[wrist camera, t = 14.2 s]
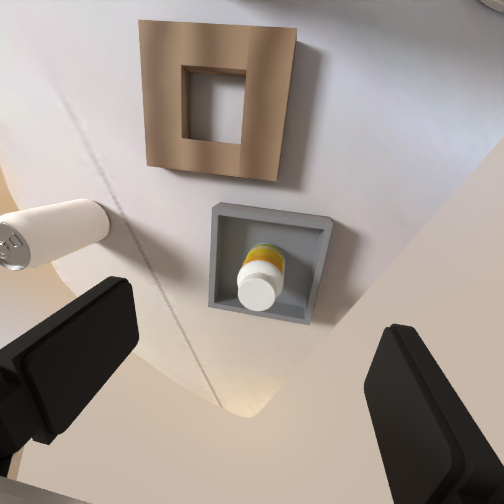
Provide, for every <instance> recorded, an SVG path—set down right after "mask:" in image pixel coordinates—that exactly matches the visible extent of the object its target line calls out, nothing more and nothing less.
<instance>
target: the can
mask: <svg viewBox="0 0 504 504" xmlns="http://www.w3.org/2000/svg"><path fill="white" fill-rule="evenodd" d="M109 226H110V223H109V218H108V216H107V214H106V212H105V211H104V209H103V208H102V207H101V206H100V205H98V204H97V203H95V202H94V201H92V200H89V199H78V200H73V201H67V202H62V203H57V204H52V205H47V206H42V207H36V208H31V209H26V210H21V211H17V212H12V213H8V214H4V215H1V216H0V265H1V266H3V267H5V268H7V269H10V270H22V269H24V268H35V267H39V266H41V265H44V264H46V263H49V262H51V261H54V260H56V259H58V258H61V257H63V256H65V255H68V254H70V253H72V252H74V251H77V250H79V249H81V248H84V247H86V246H88V245H91V244H93V243H95V242H97V241H100V240H102V239H103V238H105V237H106V236H107V234H108V232H109Z"/></svg>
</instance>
